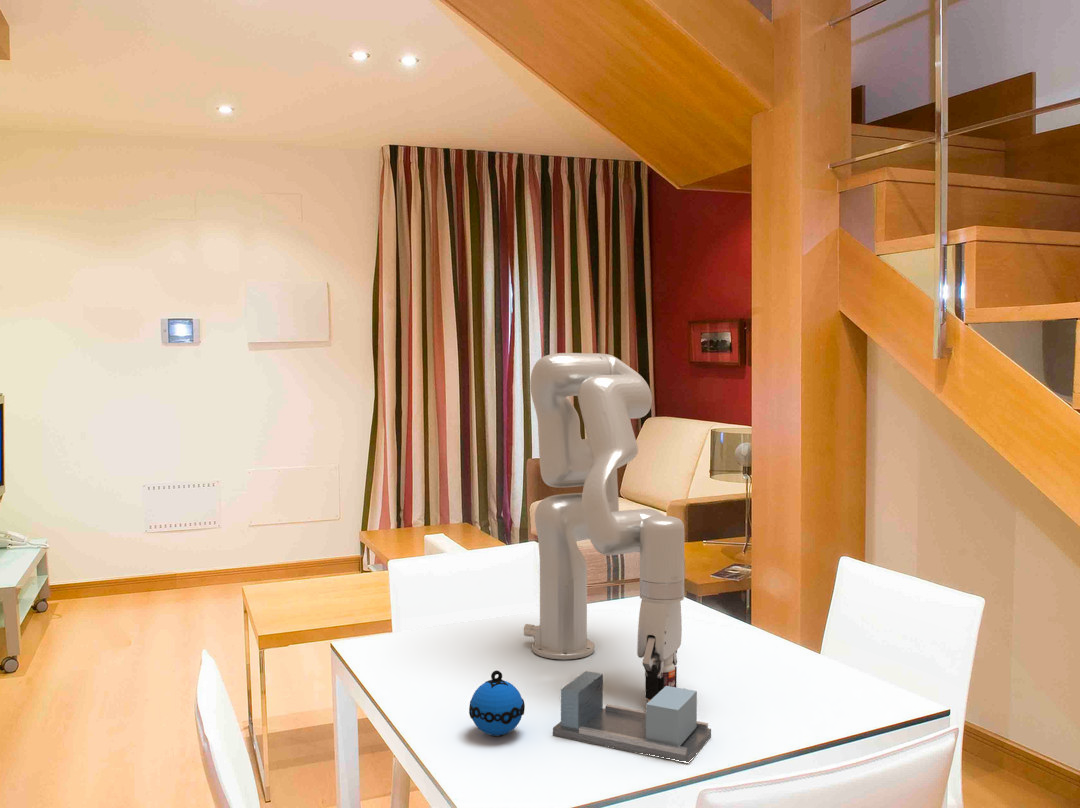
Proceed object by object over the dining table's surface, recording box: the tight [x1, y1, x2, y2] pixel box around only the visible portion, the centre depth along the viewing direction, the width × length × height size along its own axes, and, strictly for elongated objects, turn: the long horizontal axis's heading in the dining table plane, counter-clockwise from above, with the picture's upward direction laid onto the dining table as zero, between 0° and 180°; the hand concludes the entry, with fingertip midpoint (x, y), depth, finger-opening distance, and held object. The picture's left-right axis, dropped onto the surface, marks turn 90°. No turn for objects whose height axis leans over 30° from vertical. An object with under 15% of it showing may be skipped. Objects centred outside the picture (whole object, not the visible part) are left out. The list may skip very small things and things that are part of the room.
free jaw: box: [645, 686, 698, 746], centre depth 138 cm, size 5×9×6 cm, turn 152°
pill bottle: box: [646, 654, 675, 703], centre depth 156 cm, size 5×5×8 cm
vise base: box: [552, 670, 712, 762], centre depth 141 cm, size 22×11×7 cm, turn 62°
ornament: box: [468, 670, 526, 737], centre depth 142 cm, size 9×9×10 cm
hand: (661, 692), depth 156 cm, fingers open, 5 cm apart
